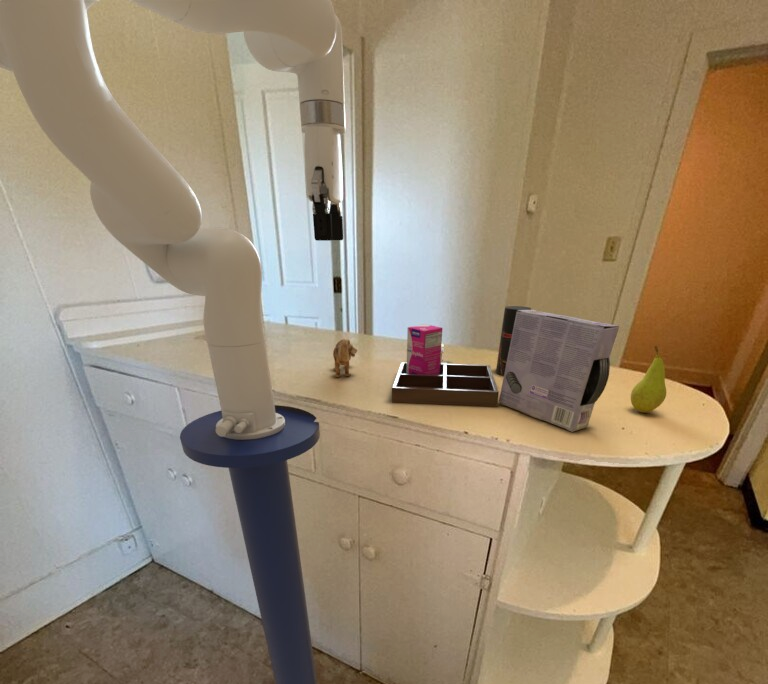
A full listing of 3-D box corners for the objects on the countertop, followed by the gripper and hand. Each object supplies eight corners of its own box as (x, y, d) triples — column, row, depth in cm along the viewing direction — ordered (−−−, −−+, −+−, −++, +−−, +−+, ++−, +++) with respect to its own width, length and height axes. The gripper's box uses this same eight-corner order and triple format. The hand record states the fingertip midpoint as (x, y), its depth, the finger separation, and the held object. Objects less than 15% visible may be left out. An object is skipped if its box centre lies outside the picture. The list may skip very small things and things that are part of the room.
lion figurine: (359, 379, 102) (358, 340, 97) (337, 381, 101) (335, 341, 96) (347, 364, 114) (345, 329, 109) (327, 366, 113) (325, 329, 108)
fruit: (655, 419, 80) (679, 353, 74) (622, 412, 83) (642, 348, 77) (662, 411, 84) (685, 347, 77) (630, 405, 87) (650, 343, 81)
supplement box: (405, 378, 101) (406, 326, 94) (423, 374, 104) (425, 323, 98) (422, 383, 97) (424, 330, 91) (440, 379, 100) (444, 327, 94)
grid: (496, 406, 86) (498, 392, 84) (391, 402, 88) (391, 387, 87) (488, 377, 104) (489, 365, 102) (401, 374, 106) (401, 362, 104)
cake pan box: (595, 429, 76) (626, 322, 66) (577, 435, 74) (607, 325, 64) (513, 400, 90) (529, 308, 80) (496, 404, 87) (511, 310, 78)
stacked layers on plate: (447, 362, 116) (449, 341, 113) (448, 371, 109) (450, 348, 106) (411, 361, 117) (412, 340, 114) (409, 369, 110) (410, 347, 107)
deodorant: (513, 369, 111) (523, 305, 103) (524, 375, 106) (535, 309, 98) (491, 370, 110) (500, 306, 102) (502, 376, 105) (512, 309, 97)
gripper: (314, 132, 80) (321, 240, 89) (285, 108, 65) (297, 240, 75) (354, 131, 79) (357, 240, 88) (333, 107, 65) (339, 240, 74)
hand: (329, 240), depth 82 cm, fingers open, 9 cm apart
